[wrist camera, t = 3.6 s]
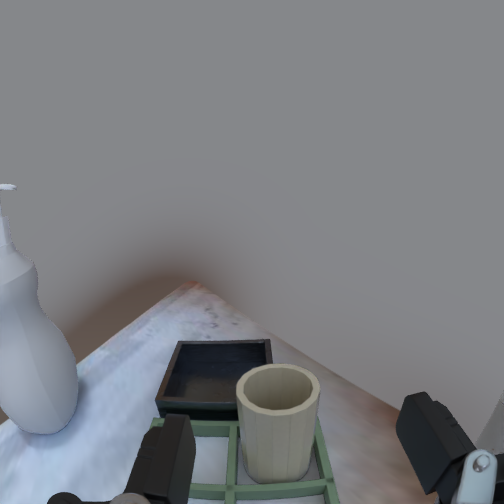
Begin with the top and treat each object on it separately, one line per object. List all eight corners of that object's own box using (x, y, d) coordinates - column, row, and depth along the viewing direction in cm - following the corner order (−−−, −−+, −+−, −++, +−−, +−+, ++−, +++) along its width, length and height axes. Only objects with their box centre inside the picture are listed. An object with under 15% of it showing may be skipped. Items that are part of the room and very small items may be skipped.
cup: (305, 437, 28) (312, 360, 25) (313, 483, 21) (327, 410, 19) (244, 441, 28) (237, 365, 25) (244, 488, 21) (234, 416, 19)
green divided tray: (316, 426, 29) (317, 415, 29) (348, 566, 11) (353, 561, 11) (157, 428, 29) (153, 417, 29) (118, 559, 11) (109, 553, 11)
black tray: (270, 360, 43) (269, 338, 42) (277, 424, 30) (277, 400, 29) (182, 362, 43) (178, 340, 42) (162, 423, 30) (154, 399, 29)
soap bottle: (82, 455, 23) (-7, 176, 16) (7, 449, 20) (-84, 203, 12) (96, 374, 39) (55, 177, 31) (35, 377, 35) (-11, 192, 28)
